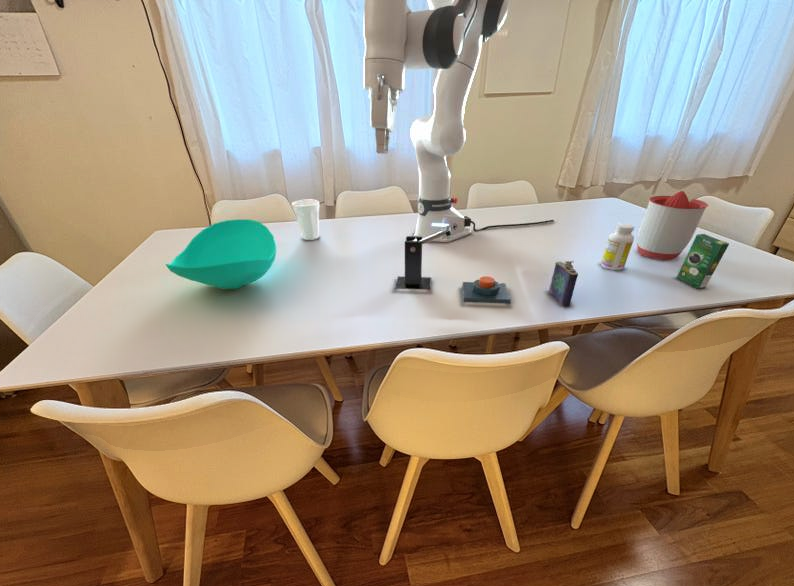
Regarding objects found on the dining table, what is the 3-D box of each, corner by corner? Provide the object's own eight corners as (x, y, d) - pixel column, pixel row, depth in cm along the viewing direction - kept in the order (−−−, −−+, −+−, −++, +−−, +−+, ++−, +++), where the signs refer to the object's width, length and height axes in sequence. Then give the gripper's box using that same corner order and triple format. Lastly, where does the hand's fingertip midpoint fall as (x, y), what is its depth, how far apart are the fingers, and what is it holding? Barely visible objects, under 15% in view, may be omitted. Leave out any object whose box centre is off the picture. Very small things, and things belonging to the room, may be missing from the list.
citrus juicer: (689, 252, 127) (718, 189, 116) (677, 266, 117) (707, 199, 106) (640, 242, 136) (662, 182, 124) (624, 255, 126) (646, 191, 114)
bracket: (430, 281, 111) (432, 234, 103) (429, 293, 105) (431, 244, 97) (397, 280, 112) (396, 233, 104) (394, 291, 106) (393, 243, 97)
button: (493, 282, 101) (493, 276, 100) (494, 289, 98) (495, 282, 97) (478, 282, 102) (478, 276, 101) (479, 288, 98) (479, 282, 97)
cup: (301, 244, 139) (295, 207, 131) (294, 236, 146) (288, 201, 138) (327, 239, 143) (322, 203, 135) (319, 232, 150) (314, 198, 142)
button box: (504, 290, 106) (506, 277, 103) (509, 307, 98) (511, 293, 95) (461, 289, 107) (463, 275, 104) (463, 305, 99) (464, 291, 96)
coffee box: (707, 289, 105) (731, 242, 97) (698, 290, 104) (722, 243, 96) (683, 277, 111) (704, 233, 103) (675, 278, 110) (695, 234, 103)
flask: (546, 291, 104) (555, 254, 98) (556, 291, 105) (566, 254, 98) (562, 307, 97) (573, 268, 91) (573, 306, 97) (584, 267, 91)
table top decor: (207, 261, 126) (194, 221, 119) (290, 257, 128) (282, 217, 121) (158, 319, 95) (135, 270, 87) (269, 313, 97) (257, 264, 89)
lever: (451, 230, 100) (448, 222, 99) (452, 236, 96) (448, 228, 95) (411, 248, 104) (407, 240, 103) (410, 254, 100) (406, 246, 99)
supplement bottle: (622, 264, 120) (636, 223, 112) (624, 272, 115) (640, 229, 107) (599, 261, 122) (612, 221, 114) (601, 269, 117) (614, 227, 109)
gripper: (396, 71, 71) (393, 154, 78) (400, 88, 89) (398, 154, 96) (363, 69, 71) (363, 152, 78) (374, 86, 89) (373, 153, 96)
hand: (382, 153), depth 87 cm, fingers open, 8 cm apart
